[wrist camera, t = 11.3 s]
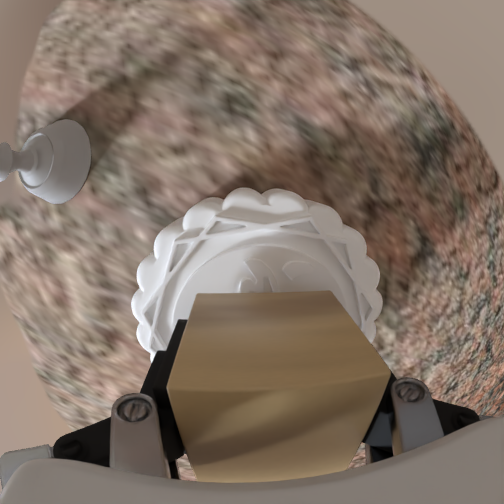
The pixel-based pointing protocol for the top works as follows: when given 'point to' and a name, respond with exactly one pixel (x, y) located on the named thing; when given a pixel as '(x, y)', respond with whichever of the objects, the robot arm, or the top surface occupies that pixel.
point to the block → (273, 386)
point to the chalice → (51, 161)
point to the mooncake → (253, 260)
